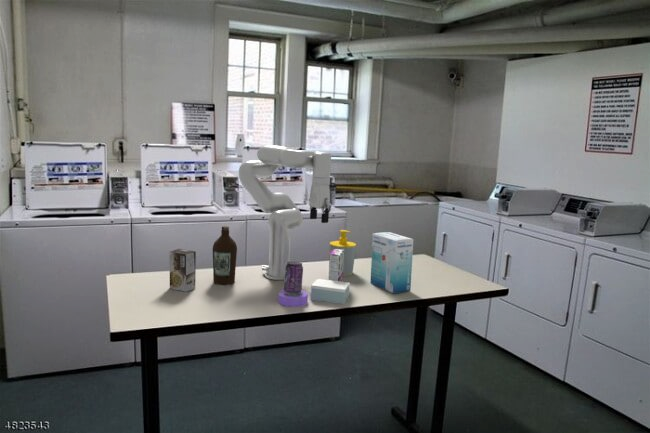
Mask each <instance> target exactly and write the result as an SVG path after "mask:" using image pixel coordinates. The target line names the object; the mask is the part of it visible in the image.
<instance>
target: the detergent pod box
mask: <svg viewBox="0 0 650 433" xmlns="http://www.w3.org/2000/svg"><path fill="white" fill-rule="evenodd" d="M350 284H351V283H350V282H346V281H343V282H339V281H331V280H329V279H323V278H316V280H315V281H314V282H313V283H312V284H311V285H310V300H311V301H318V302H319V301H320V302H326V303H333V304H340V305H341V304H342V305H344V304H345V303H346V301H347V300H348V298H349V296H350Z"/></svg>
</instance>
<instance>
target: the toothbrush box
mask: <svg viewBox="0 0 650 433" xmlns="http://www.w3.org/2000/svg"><path fill="white" fill-rule="evenodd" d="M371 243H372V244H371V245H372V246H371V260H370V261H371V266H370V284H371V285H373V286H376V287H378V288H380V289H382V290H384V291H387V292H389V293H391V294H398V293H400V294H401V293H405V292H411V289H412V288H411V286H412V271H413V270H412V268H413V253H414V238H411V237H408V236H404V235H400V234H397V233H394V232H390V231H387V232H386V231H385V232H375V233H374V232H373V233H372V242H371Z"/></svg>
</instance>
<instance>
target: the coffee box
mask: <svg viewBox="0 0 650 433" xmlns="http://www.w3.org/2000/svg"><path fill="white" fill-rule="evenodd" d="M196 254H197V252H196V251H195V250H191V249H190V250H189V249H182V248H177V249H174V250H171V251H169V252H168V255H169V258H168V259H169V260H168V261H169V289H170V290H171V289H172V290H177V291H180V292H181V291H182V292H186V293H187V292H189V291H192V290H195V289H196V272H197V271H196V270H197V269H196V268H197V266H196V263H197V262H196V259H197V256H196Z"/></svg>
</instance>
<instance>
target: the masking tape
mask: <svg viewBox="0 0 650 433" xmlns="http://www.w3.org/2000/svg"><path fill="white" fill-rule="evenodd" d="M308 295H309V294H308V292H307V291H304V290H301V292H299V293H296V294H293V293H287V292H286V291H284V289H283V290H280V291H279V292H278V303H279V304H280V305H282V306H285V307H292V308H294V307H303V306H305V305H307V304H308Z"/></svg>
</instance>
